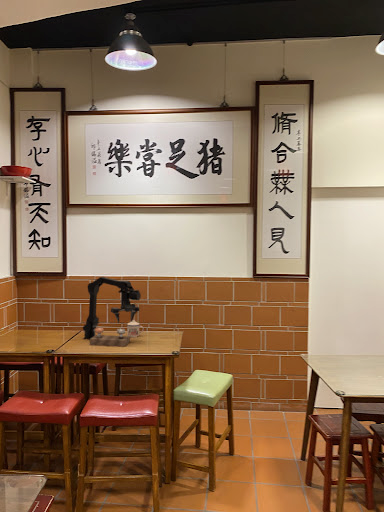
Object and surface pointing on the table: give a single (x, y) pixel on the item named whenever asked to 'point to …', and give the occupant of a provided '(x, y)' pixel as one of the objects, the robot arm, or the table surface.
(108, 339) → the press block
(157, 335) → the table surface
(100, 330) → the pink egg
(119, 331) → the grey plunger
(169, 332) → the table surface
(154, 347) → the table surface
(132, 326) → the teacup with lid
